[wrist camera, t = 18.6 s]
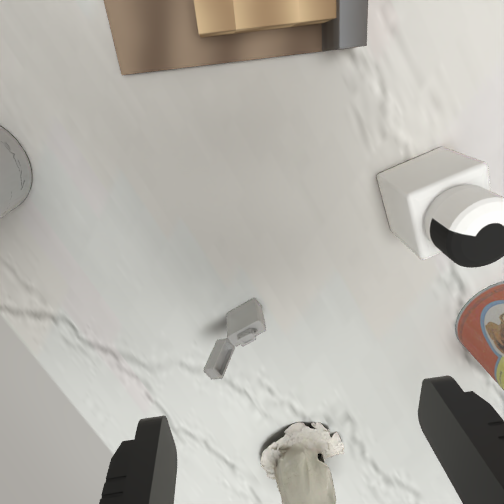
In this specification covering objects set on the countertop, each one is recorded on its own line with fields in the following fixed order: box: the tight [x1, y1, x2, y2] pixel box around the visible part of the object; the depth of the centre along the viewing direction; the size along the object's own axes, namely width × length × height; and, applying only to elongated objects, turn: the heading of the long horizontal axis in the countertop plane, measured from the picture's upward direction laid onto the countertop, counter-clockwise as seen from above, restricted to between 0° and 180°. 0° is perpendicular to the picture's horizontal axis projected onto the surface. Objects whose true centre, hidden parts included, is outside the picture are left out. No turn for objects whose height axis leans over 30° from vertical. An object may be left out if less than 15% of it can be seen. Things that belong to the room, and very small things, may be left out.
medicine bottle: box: [377, 147, 504, 268], centre depth 33 cm, size 7×7×12 cm
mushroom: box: [260, 422, 344, 504], centre depth 50 cm, size 14×20×16 cm
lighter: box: [204, 298, 266, 379], centre depth 41 cm, size 7×2×8 cm, turn 121°
